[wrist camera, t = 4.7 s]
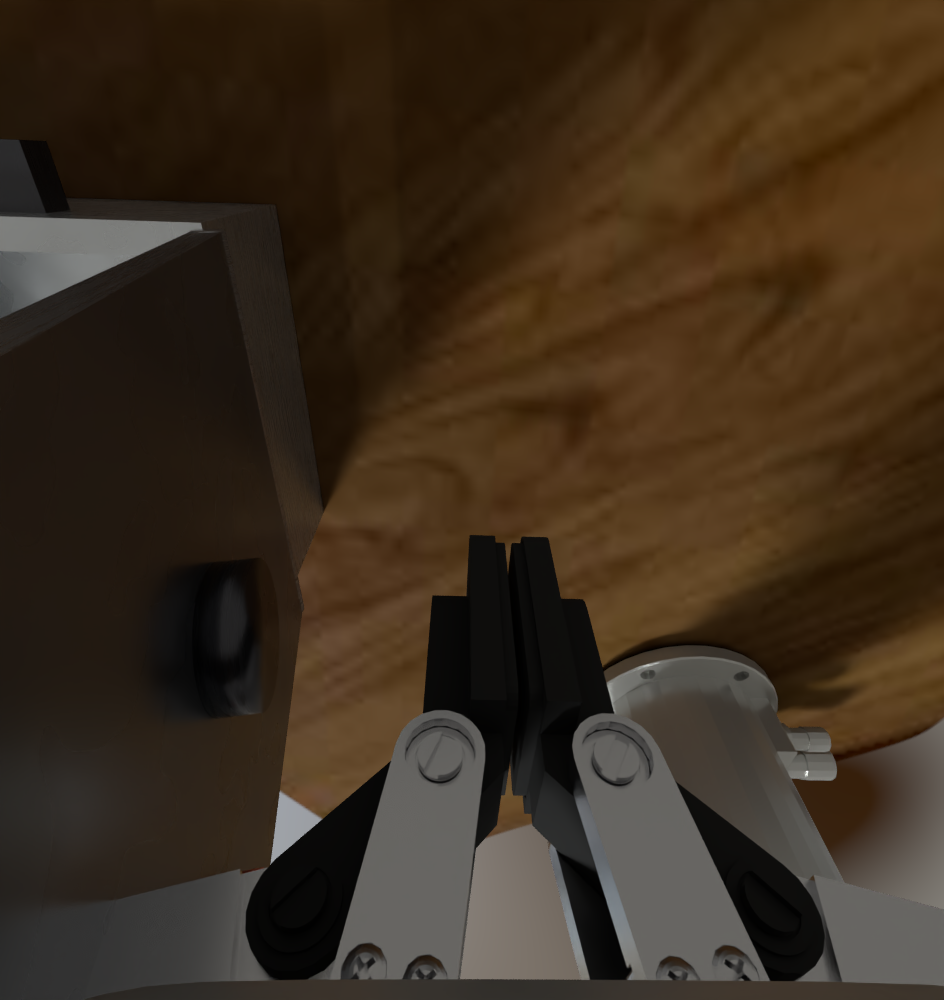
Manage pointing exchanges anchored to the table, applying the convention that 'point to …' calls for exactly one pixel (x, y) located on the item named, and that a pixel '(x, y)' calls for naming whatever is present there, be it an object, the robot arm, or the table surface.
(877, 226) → the table surface
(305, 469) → the cooker pot
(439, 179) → the table surface
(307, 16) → the table surface
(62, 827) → the lid
